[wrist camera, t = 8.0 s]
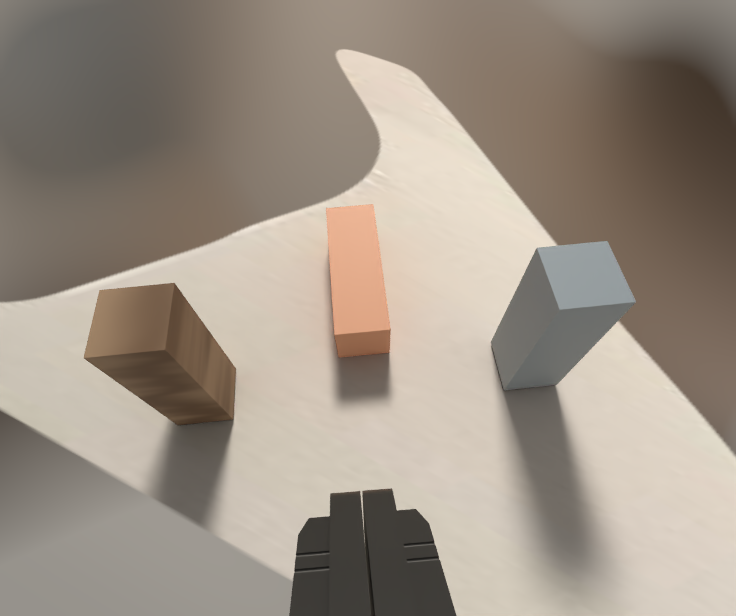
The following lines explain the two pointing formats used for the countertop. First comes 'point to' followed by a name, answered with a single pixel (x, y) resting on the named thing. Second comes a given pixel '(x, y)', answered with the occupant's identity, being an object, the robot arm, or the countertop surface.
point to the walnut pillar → (162, 353)
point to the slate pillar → (559, 313)
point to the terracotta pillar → (357, 282)
